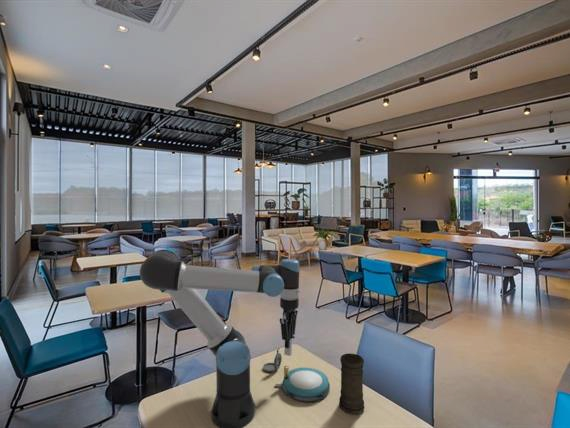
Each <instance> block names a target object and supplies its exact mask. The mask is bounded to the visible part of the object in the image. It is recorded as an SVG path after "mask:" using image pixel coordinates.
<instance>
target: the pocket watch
mask: <svg viewBox="0 0 570 428" xmlns="http://www.w3.org/2000/svg"><path fill="white" fill-rule="evenodd" d="M279 351H280V347H278V348H277V350H276V355H274V356H275V357H274V359H273V362H267V363H265V364H263V366H262V368H263V370H264V371H265V372H269V373H272V372H273V373H274V372H276V371H277V370H279V368H281V367H280V366H281V364H282V353H280V352H279Z"/></svg>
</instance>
